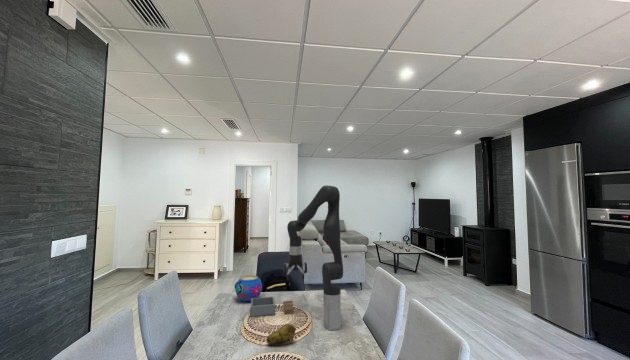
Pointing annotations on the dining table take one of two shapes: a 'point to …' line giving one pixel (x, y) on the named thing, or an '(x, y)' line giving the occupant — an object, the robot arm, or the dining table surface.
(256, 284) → the ceramic pot
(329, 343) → the dining table surface
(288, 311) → the walnut block
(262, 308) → the charcoal bin
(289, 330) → the green pear
